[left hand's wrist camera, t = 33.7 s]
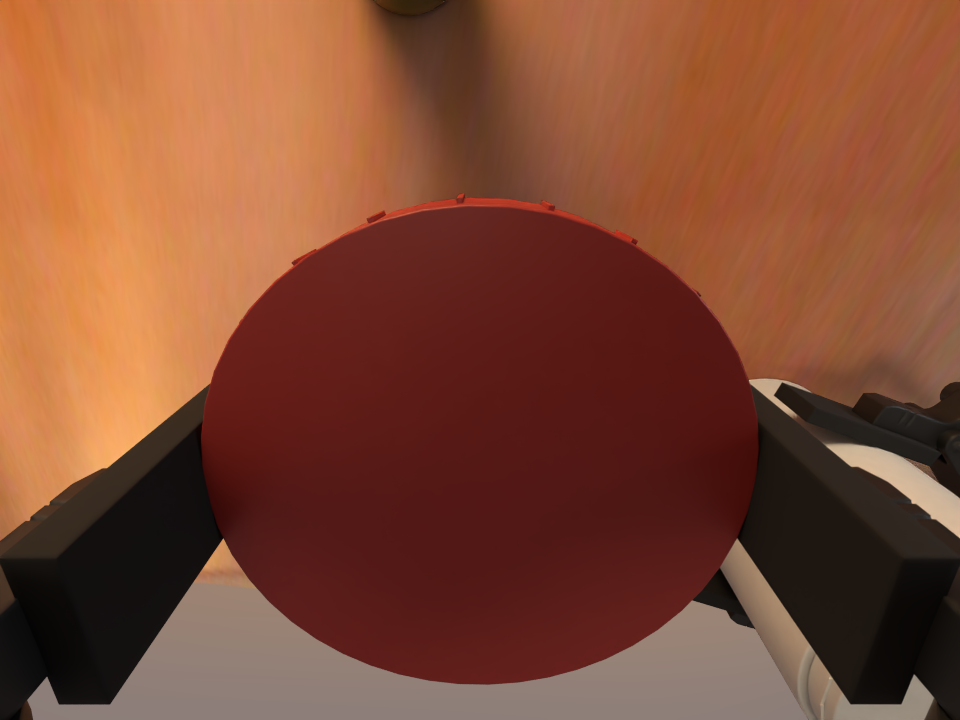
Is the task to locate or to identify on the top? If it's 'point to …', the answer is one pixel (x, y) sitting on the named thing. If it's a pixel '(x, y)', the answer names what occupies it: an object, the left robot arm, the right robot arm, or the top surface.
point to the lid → (480, 442)
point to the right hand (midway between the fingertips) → (733, 493)
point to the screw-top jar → (773, 623)
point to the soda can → (409, 6)
